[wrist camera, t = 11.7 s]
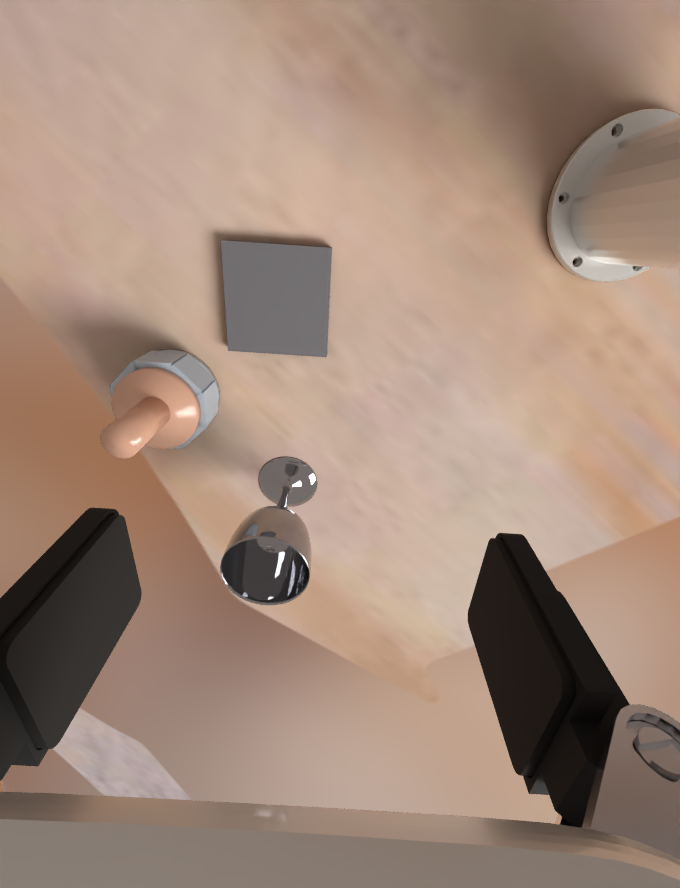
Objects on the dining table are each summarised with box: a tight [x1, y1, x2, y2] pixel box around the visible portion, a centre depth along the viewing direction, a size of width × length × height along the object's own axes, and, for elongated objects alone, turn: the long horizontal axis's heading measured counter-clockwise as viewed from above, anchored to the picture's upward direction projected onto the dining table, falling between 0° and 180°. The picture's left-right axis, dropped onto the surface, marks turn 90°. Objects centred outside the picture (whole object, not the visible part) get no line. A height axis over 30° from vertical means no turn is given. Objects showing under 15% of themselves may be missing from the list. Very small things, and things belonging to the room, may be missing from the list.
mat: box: [221, 240, 332, 357], centre depth 39 cm, size 10×10×1 cm
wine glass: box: [220, 457, 317, 605], centre depth 42 cm, size 8×8×15 cm
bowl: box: [110, 349, 220, 449], centre depth 41 cm, size 9×9×5 cm
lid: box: [101, 367, 201, 458], centre depth 36 cm, size 8×8×8 cm
